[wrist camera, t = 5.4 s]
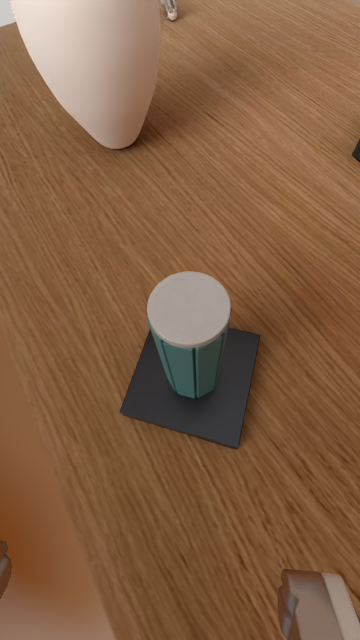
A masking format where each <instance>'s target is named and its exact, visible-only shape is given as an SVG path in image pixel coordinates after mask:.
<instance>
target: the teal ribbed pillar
mask: <svg viewBox="0 0 360 640" xmlns="http://www.w3.org/2000/svg"><path fill="white" fill-rule="evenodd" d="M231 311H232V308H231V303H230V299H229V296H228V293H227V291H226V290H225V288H224V287H223V286H222V285H221V284H220V283H219V282H218V281H217V280H216V279H214V278H213V277H211V276H209V275H206V274H204V273H200V272H192V271H187V272H180V273H176V274H173V275H171V276H169V277H167V278H165V279H164V280H162V281H161V282H160V283H159V284H158V285H157V286H156V287H155V288H154V290H153V291H152V293H151V295H150V297H149V300H148V305H147V315H148V318H147V320H148V323H149V326H150V329H151V332H152V335H153V338H154V341H155V344H156V347H157V350H158V352H159V355H160V358H161V361H162V364H163V367H164V370H165V373H166V376H167V378H168V380H169V382H170V384H171V386H172V387H173V389H174V391H175V392H176V391H177V394H180V395H183V396H187V397H190V398H194V399H195V397H196V396H197V398H199V397H201V396H203V395H205V394H207V393H208V392H210V391H212V390H213V389H214V387H216V384H217V379H218V375H219V371H220V366H221V361H222V356H223V351H224V346H225V341H226V336H227V331H228V326H229V321H230V316H231Z"/></svg>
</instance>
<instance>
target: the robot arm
mask: <svg viewBox="0 0 360 640" xmlns="http://www.w3.org/2000/svg"><path fill="white" fill-rule="evenodd" d="M7 550H8V547H7V544H6V541H0V598H1V597H2V595H3V593H4V591H5V589H6V587H7V585H8V582H9V578H10V575H11V569H12V564H11V559H10V558H9V557H8V556H7V555H6V554H5V553H6V551H7ZM281 580H282V586H280V587H279V590H278V613H279V621H280V627H281V631H282V633H283V634H284V635H285V637H286V638H287V640H360V623H359V621H358V618H357V615H356V613H355V610H354V607H353V605H352V602H351V599H350V597H349V594H348V591H347V589H346V586H345V583H344V581H343V579H342V578H341V576H340V575H338V574H333V573H321V572H315V571H302V570H290V569H283V570H282V574H281Z"/></svg>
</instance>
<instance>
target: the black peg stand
mask: <svg viewBox="0 0 360 640" xmlns="http://www.w3.org/2000/svg"><path fill="white" fill-rule="evenodd" d="M259 340H260V335H258V334H254V333H250V332H246V331H241V330H237V329H233V328H229V327H228V331H227V336H226V341H225V346H224V351H223V356H222V361H221V366H220V371H219V375H218V379H217V384H216V387H214V389H213V390H212V391H210V392H208V393H207V394H205V395H203V396H201V397H199V398H197V396H196V397H195V399H194V398H190V397H187V396H183V395H180V394H177V391H176V392H175V391H174V389H173V387H172V386H171V384H170V382H169V380H168V378H167V376H166V373H165V370H164V367H163V364H162V361H161V358H160V355H159V352H158V350H157V347H156V344H155V341H154V338H153V335H152V332H151V329H150V331H149V333H148V336H147V339H146V342H145V344H144V347H143V350H142V353H141V355H140V358H139V361H138V364H137V366H136V369H135V372H134V374H133V377H132V380H131V383H130V385H129V388H128V391H127V394H126V396H125V399H124V402H123V404H122V407H121V410H120V413H121V414H122V415H124V416H128V417H131V418H134V419H137V420H141V421H144V422H147V423H151V424H154V425H157V426H160V427H164V428H167V429H170V430H173V431H177V432H180V433H183V434H186V435H190V436H193V437H196V438H200V439H203V440H206V441H209V442H213V443H216V444H219V445H222V446H226V447H229V448H232V449H238V446H239V441H240V436H241V431H242V426H243V421H244V416H245V411H246V406H247V400H248V395H249V390H250V385H251V380H252V375H253V370H254V365H255V360H256V355H257V350H258V345H259Z"/></svg>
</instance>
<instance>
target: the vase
mask: <svg viewBox="0 0 360 640" xmlns="http://www.w3.org/2000/svg"><path fill="white" fill-rule="evenodd" d="M9 1H10V4H11V8H12V11H13V14H14V17H15V20H16V23H17V25H18V28H19V31H20V34H21V36H22V39H23V41H24V43H25V46H26V48H27V50H28V52H29V55H30V57H31V59H32V60H33V62H34V64H35V66H36V68H37V69H38V71H39V73H40V74H41V76H42V77H43V79H44V81H45V82H46V84H47V85H48V87H49V88H50V90H51V91H52V93H53V94H54V96H55V97H56V99H57V100H58V101H59V103H60V104H61V105H62V106H63V107H64V109H65V110H66V111H67V112H68V113H69V114H70V115H71V116H72V117H73V118H74V119H75V120H76V121H77V122H78V123H79V124H80V125H81V126H82V127H83V128H84V129H85V130H86V131H87V132H88V133H89V134H90V135H91V136H92V137H93V138H94V139H95V140H97V141H98V142H99V143H100V144H102V145H103V146H105V147H108V148H111V149H122V148H124V147H127V146H129V145H131V144H132V143H133V142H134V141H135V140H136V138H137V137H138V135H139V133H140V131H141V128H142V126H143V123H144V120H145V117H146V114H147V111H148V108H149V105H150V103H151V99H152V96H153V93H154V89H155V85H156V80H157V73H158V64H159V53H160V13H159V4H158V0H9Z"/></svg>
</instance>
